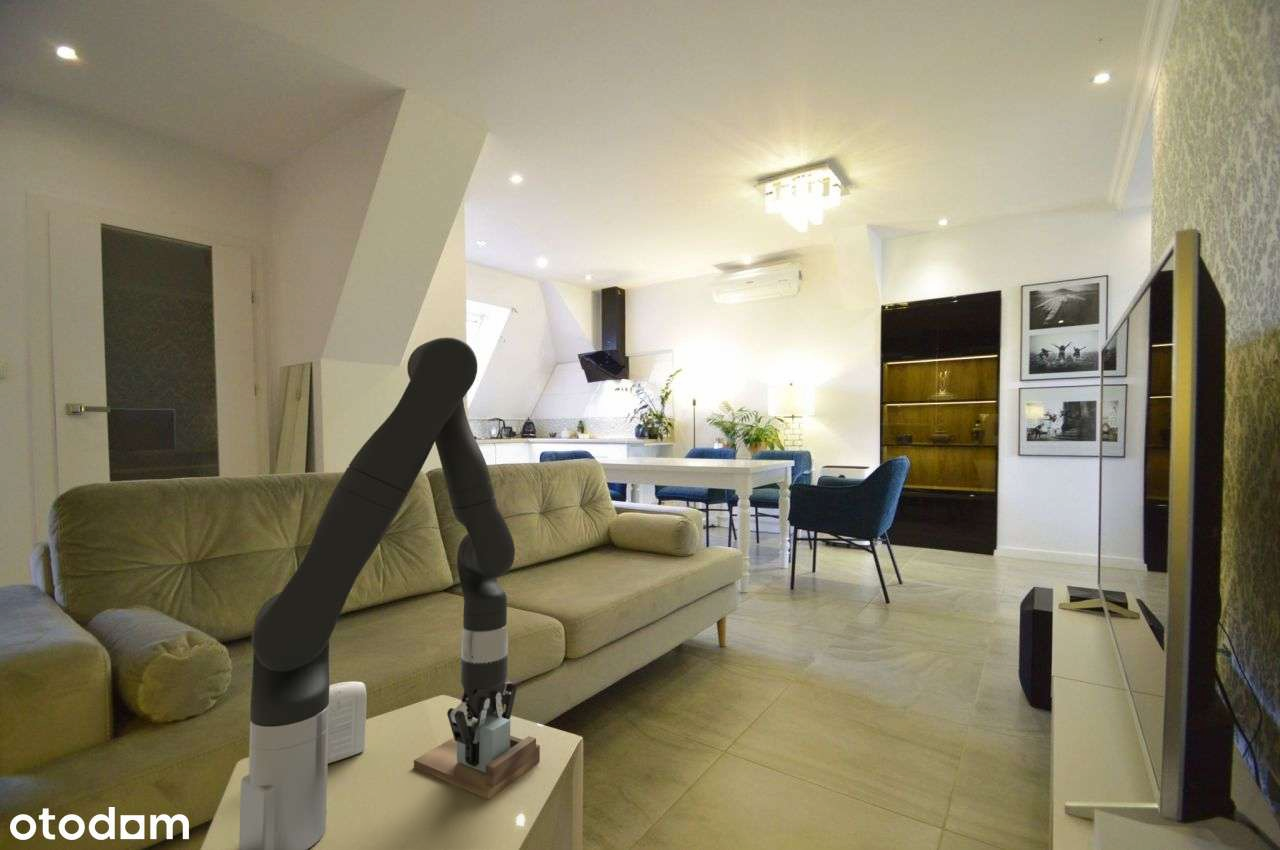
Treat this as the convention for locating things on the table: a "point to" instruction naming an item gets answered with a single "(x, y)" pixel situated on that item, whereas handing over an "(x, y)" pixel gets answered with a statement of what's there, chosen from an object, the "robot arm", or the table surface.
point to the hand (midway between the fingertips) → (483, 757)
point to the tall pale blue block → (489, 741)
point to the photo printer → (346, 720)
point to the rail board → (483, 784)
